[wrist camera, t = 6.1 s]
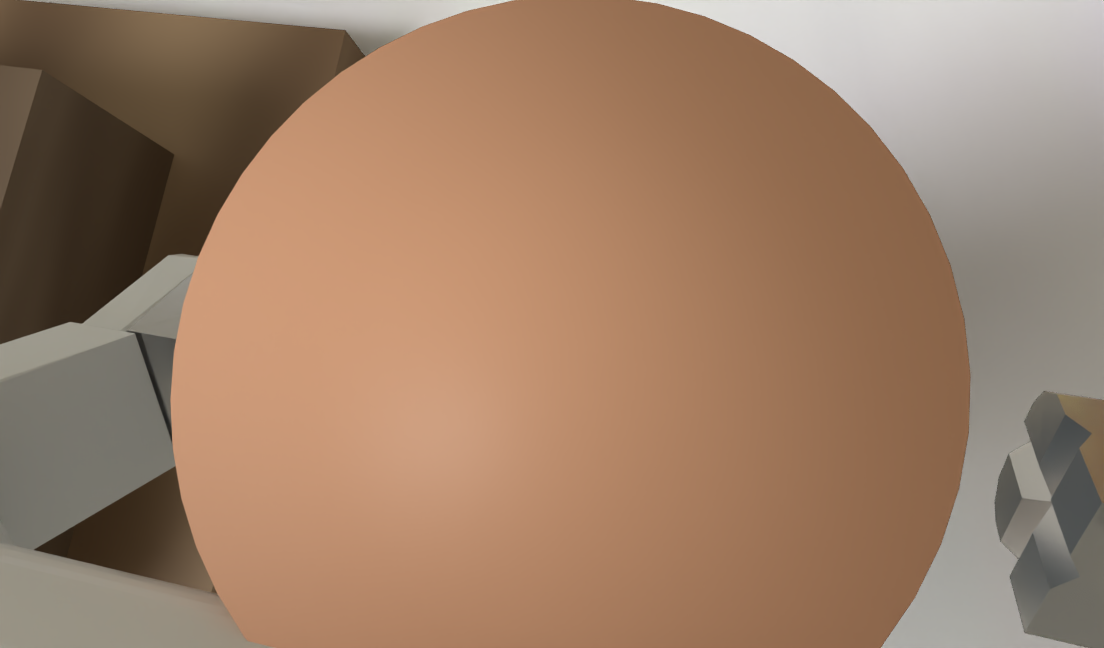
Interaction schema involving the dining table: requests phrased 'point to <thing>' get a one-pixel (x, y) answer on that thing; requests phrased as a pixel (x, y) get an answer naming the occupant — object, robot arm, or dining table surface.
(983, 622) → the dining table surface
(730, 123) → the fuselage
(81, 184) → the cradle
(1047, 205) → the dining table surface
